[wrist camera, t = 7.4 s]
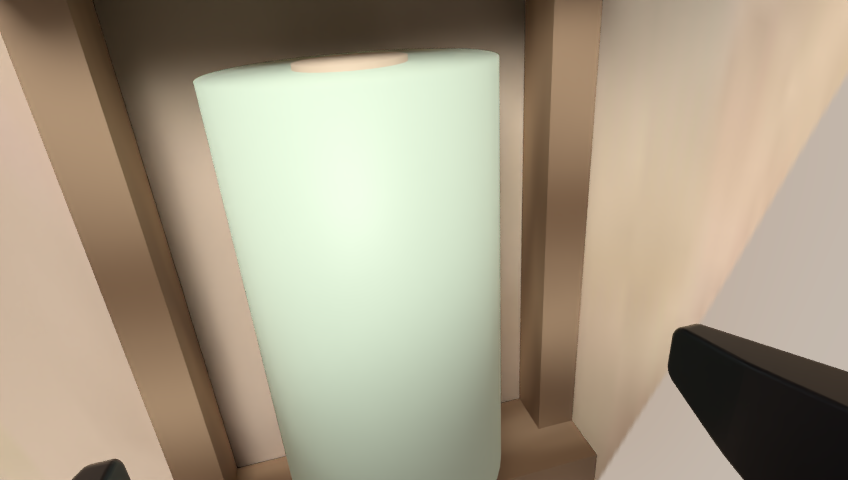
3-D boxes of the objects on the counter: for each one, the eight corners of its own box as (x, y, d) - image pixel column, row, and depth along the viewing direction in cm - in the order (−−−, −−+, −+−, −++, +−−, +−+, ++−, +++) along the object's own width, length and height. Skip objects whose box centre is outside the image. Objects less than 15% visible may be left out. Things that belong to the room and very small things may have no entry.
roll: (461, 366, 17) (537, 511, 12) (290, 406, 16) (297, 584, 11) (446, 38, 13) (556, 56, 8) (210, 60, 12) (162, 96, 7)
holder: (549, 416, 19) (593, 482, 16) (206, 505, 16) (193, 600, 14) (574, -109, 12) (659, -143, 9) (-8, -91, 10) (-117, -130, 7)
